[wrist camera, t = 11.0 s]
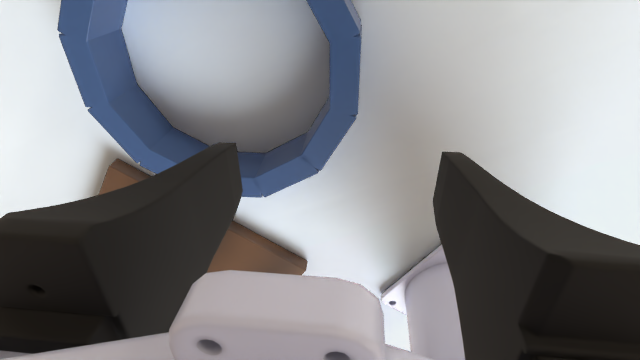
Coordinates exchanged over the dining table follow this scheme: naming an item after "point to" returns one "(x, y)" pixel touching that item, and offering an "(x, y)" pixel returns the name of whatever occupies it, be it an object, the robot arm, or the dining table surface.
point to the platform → (238, 243)
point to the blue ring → (175, 146)
